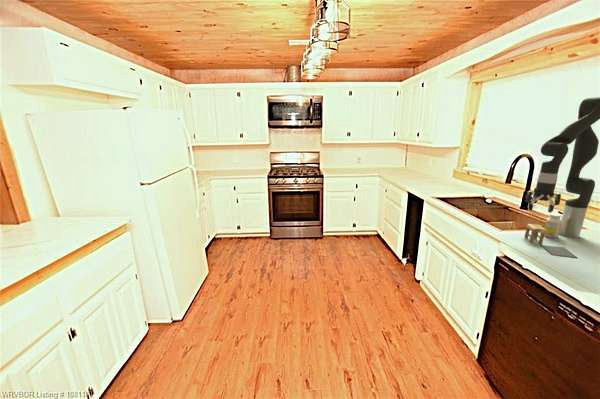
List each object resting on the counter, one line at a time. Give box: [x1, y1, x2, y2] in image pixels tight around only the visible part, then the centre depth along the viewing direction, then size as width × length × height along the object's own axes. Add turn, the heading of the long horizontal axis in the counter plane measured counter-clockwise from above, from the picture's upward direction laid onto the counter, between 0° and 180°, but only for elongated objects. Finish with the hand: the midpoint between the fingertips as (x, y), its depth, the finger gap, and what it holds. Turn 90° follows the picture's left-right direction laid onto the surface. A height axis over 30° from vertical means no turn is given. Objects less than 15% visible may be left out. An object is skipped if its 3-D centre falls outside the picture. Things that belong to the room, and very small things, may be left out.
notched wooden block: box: [524, 223, 545, 245], centre depth 158 cm, size 5×8×8 cm
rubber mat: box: [540, 244, 578, 259], centre depth 145 cm, size 12×10×1 cm
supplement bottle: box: [543, 212, 562, 239], centre depth 163 cm, size 7×7×13 cm
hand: (539, 211), depth 154 cm, fingers open, 8 cm apart
